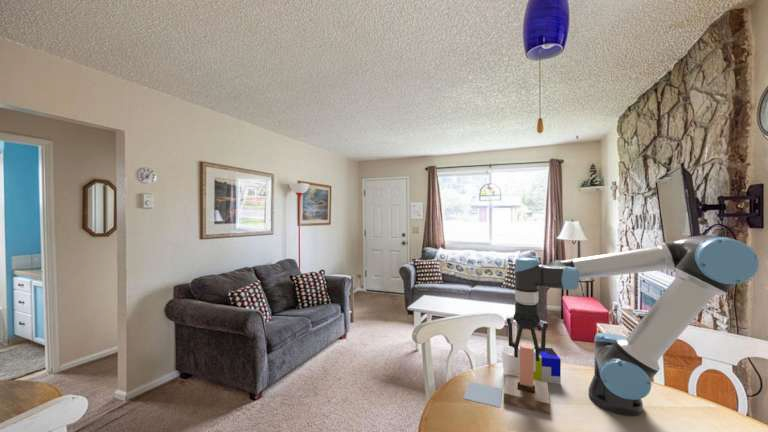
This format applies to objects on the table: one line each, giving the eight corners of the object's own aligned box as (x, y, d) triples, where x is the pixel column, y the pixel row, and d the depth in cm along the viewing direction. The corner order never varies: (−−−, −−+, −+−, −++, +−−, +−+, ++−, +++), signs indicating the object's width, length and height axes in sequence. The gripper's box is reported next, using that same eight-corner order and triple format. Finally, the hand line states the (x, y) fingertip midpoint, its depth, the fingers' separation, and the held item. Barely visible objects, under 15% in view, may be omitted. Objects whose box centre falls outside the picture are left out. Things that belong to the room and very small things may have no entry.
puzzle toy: (560, 385, 118) (560, 359, 118) (532, 382, 120) (532, 356, 120) (551, 372, 128) (551, 348, 128) (525, 369, 130) (526, 346, 130)
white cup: (502, 379, 122) (502, 353, 122) (501, 369, 130) (501, 345, 130) (524, 382, 120) (524, 356, 120) (521, 372, 127) (521, 348, 127)
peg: (533, 380, 110) (533, 344, 110) (533, 386, 106) (533, 349, 106) (520, 378, 112) (520, 342, 112) (520, 384, 108) (520, 347, 108)
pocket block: (547, 393, 113) (547, 382, 113) (549, 415, 100) (550, 403, 100) (505, 384, 118) (506, 373, 118) (503, 404, 106) (503, 393, 106)
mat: (502, 390, 114) (502, 388, 114) (499, 409, 103) (499, 407, 103) (469, 383, 119) (469, 381, 119) (463, 399, 108) (463, 398, 108)
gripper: (553, 302, 109) (553, 368, 109) (501, 296, 116) (501, 358, 116) (555, 307, 102) (555, 378, 102) (499, 301, 109) (499, 367, 109)
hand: (526, 367), depth 109 cm, fingers closed on peg, 4 cm apart
